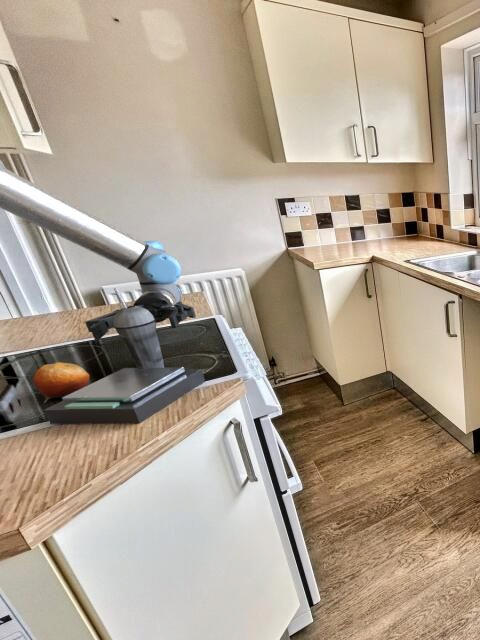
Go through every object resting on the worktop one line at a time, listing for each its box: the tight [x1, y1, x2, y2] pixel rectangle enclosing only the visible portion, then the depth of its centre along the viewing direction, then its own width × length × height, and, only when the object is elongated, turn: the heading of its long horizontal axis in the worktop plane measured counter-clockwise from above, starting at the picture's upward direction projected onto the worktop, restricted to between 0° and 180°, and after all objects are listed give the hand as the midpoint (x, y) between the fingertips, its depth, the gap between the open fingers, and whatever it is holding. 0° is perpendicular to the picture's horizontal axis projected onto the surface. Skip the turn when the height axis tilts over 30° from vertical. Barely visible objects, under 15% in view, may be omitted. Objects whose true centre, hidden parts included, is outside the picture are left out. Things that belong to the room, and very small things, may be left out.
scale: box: [43, 368, 206, 425], centre depth 84 cm, size 17×17×4 cm
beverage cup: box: [113, 287, 165, 368], centre depth 95 cm, size 7×7×20 cm
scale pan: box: [61, 366, 185, 402], centre depth 83 cm, size 13×13×1 cm
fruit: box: [32, 361, 90, 404], centre depth 87 cm, size 8×8×8 cm
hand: (134, 328), depth 94 cm, fingers open, 13 cm apart
